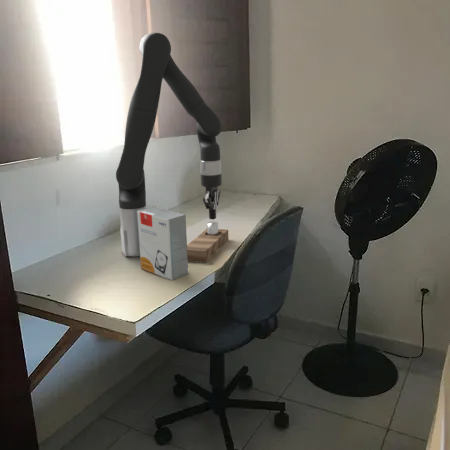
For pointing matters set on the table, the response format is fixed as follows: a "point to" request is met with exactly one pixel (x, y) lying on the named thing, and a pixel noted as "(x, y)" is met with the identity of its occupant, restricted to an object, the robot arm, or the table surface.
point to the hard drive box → (163, 242)
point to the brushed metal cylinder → (212, 228)
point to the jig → (206, 246)
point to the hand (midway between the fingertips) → (212, 218)
